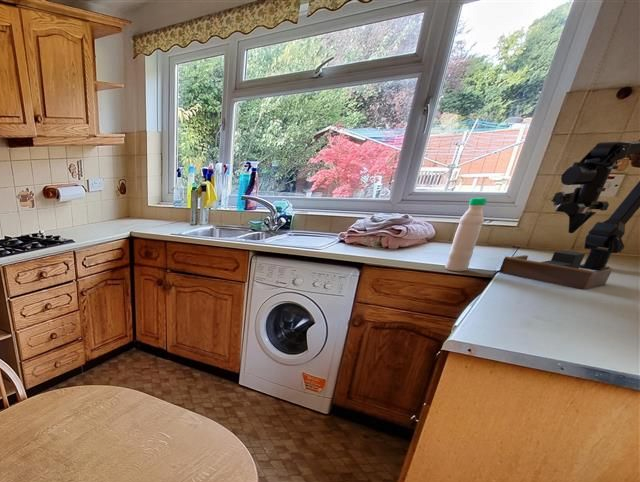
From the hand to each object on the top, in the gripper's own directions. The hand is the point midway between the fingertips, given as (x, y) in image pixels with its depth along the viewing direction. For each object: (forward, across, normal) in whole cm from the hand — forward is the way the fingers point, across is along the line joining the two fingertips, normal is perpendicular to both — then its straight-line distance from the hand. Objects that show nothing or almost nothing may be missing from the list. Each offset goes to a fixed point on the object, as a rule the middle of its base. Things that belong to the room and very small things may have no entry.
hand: (570, 232), depth 152 cm
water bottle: (+14, +28, -17) cm, 36 cm away
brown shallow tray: (+13, +14, +5) cm, 20 cm away
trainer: (+13, +12, +5) cm, 19 cm away
